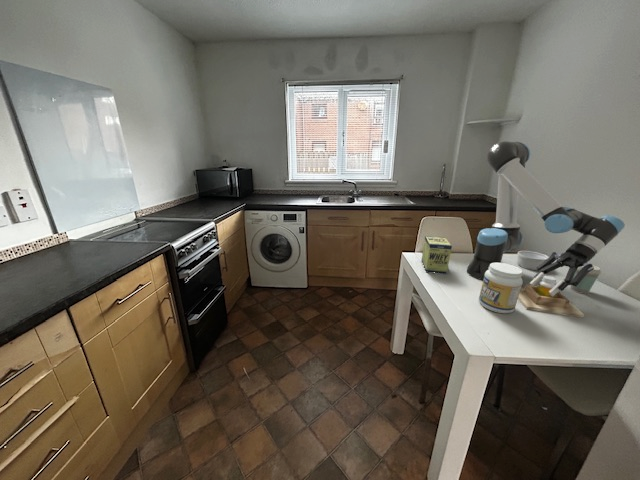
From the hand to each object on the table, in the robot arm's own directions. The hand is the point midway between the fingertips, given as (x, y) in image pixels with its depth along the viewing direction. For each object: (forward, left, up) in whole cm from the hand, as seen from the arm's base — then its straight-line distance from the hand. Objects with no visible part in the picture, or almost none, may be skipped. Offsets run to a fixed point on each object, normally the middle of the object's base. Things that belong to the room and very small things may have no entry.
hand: (540, 289), depth 101 cm
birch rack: (+3, +2, -6) cm, 7 cm away
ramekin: (+15, +44, -7) cm, 47 cm away
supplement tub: (-17, -7, -7) cm, 20 cm away
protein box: (-37, +26, -7) cm, 45 cm away
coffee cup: (+24, +19, -7) cm, 31 cm away
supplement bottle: (+3, +2, -5) cm, 6 cm away
